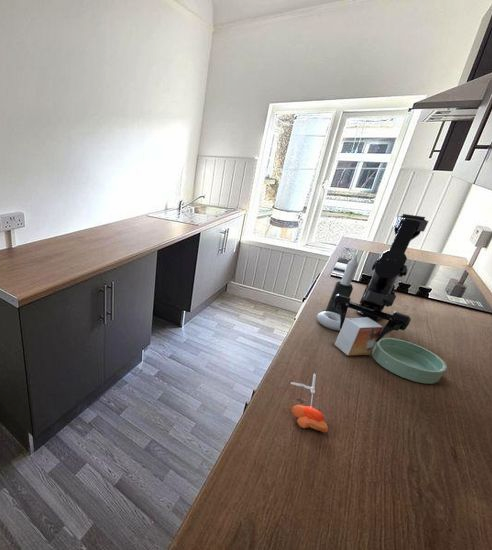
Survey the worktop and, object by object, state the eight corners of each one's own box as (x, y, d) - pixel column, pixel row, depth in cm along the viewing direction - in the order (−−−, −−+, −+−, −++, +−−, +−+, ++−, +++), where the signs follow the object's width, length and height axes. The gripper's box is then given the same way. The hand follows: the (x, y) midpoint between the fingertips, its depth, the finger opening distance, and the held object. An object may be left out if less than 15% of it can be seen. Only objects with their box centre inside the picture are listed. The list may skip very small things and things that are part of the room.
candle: (340, 320, 111) (366, 257, 101) (325, 315, 113) (348, 254, 103) (340, 314, 115) (364, 254, 105) (325, 310, 117) (347, 251, 107)
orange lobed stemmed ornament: (288, 400, 73) (302, 362, 69) (331, 427, 67) (349, 387, 62) (277, 412, 70) (291, 373, 65) (320, 442, 63) (339, 400, 58)
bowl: (379, 343, 98) (385, 332, 96) (443, 370, 87) (450, 358, 85) (364, 360, 89) (370, 348, 88) (433, 393, 78) (441, 380, 77)
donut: (315, 315, 114) (316, 326, 106) (317, 307, 112) (319, 318, 104) (345, 322, 110) (349, 335, 101) (349, 314, 108) (353, 327, 100)
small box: (347, 356, 91) (359, 327, 87) (333, 344, 96) (344, 317, 92) (370, 355, 92) (384, 326, 88) (356, 343, 97) (368, 316, 93)
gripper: (345, 271, 93) (324, 312, 90) (424, 292, 81) (403, 341, 78) (342, 286, 101) (323, 325, 99) (414, 307, 90) (394, 352, 87)
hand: (357, 334), depth 90 cm, fingers closed on small box, 9 cm apart
